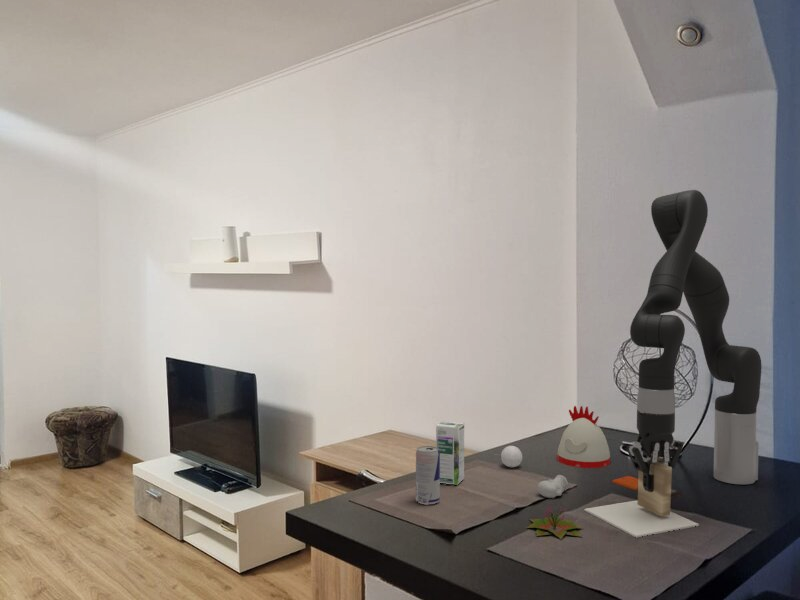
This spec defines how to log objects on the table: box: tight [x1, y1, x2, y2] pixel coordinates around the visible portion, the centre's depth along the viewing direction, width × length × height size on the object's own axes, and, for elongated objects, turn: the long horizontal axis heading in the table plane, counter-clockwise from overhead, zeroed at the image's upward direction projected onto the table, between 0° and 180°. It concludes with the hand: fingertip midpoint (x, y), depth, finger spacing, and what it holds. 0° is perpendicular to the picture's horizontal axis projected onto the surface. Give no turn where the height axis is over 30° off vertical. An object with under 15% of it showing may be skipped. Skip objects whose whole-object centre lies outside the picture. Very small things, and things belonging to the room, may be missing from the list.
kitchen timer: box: [557, 405, 611, 469], centre depth 184 cm, size 14×14×15 cm
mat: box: [583, 499, 700, 539], centre depth 141 cm, size 16×16×1 cm
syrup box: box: [435, 420, 465, 486], centre depth 165 cm, size 6×6×14 cm
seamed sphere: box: [495, 445, 523, 469], centre depth 179 cm, size 8×6×6 cm
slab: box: [637, 462, 673, 516], centre depth 142 cm, size 2×7×10 cm, turn 22°
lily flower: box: [525, 506, 585, 540], centre depth 135 cm, size 12×12×5 cm
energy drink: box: [415, 445, 441, 504], centre depth 151 cm, size 5×5×12 cm
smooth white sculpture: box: [537, 474, 569, 499], centre depth 156 cm, size 4×8×5 cm
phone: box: [611, 475, 682, 499], centre depth 161 cm, size 6×1×15 cm
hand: (654, 489), depth 142 cm, fingers closed on slab, 2 cm apart
